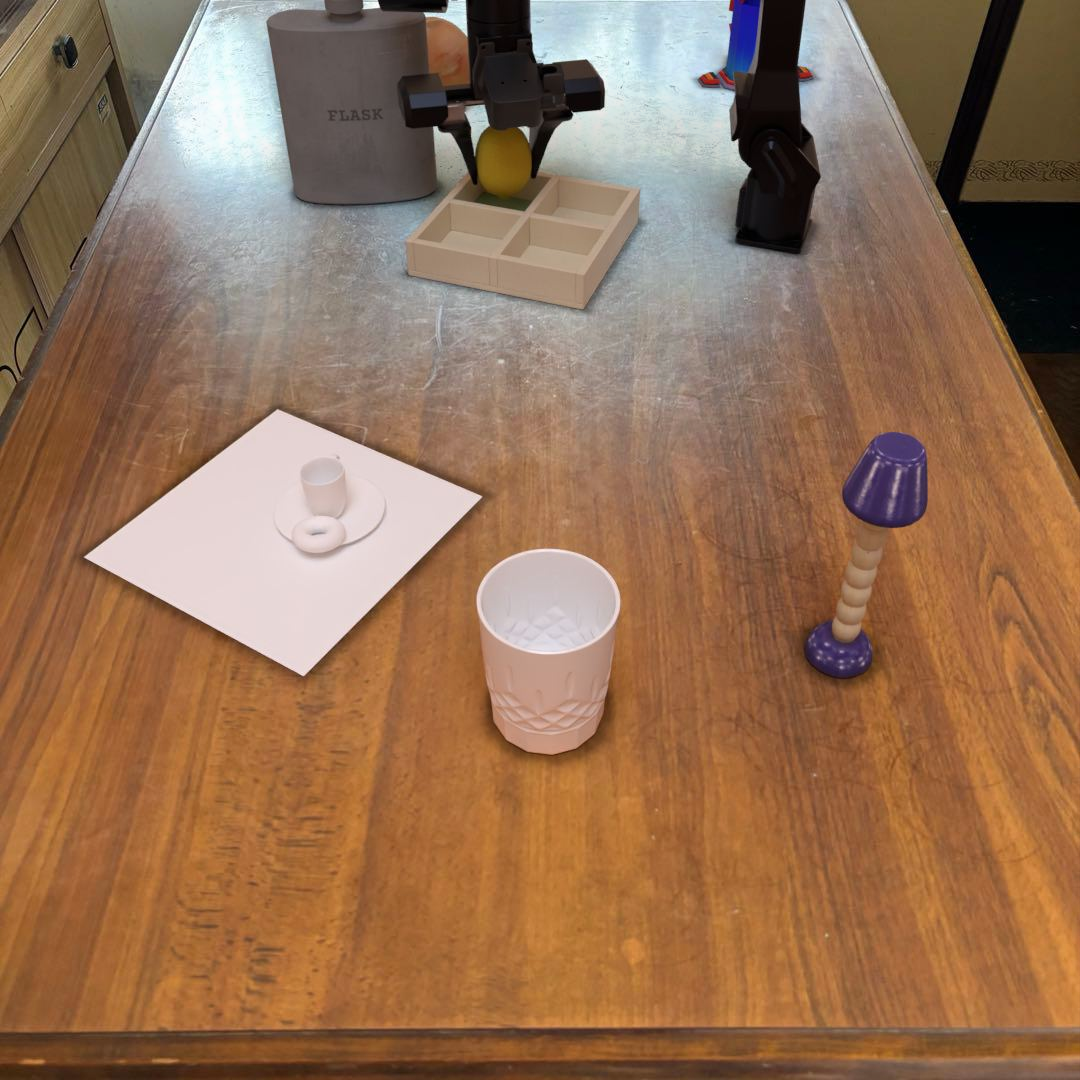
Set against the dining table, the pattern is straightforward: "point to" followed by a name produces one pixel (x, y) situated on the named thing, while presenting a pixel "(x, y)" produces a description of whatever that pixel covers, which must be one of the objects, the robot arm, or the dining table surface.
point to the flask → (351, 103)
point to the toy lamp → (870, 544)
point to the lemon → (503, 161)
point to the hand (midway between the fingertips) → (503, 180)
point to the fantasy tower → (742, 46)
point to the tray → (526, 238)
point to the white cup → (548, 646)
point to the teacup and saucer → (286, 537)
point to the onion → (447, 51)
